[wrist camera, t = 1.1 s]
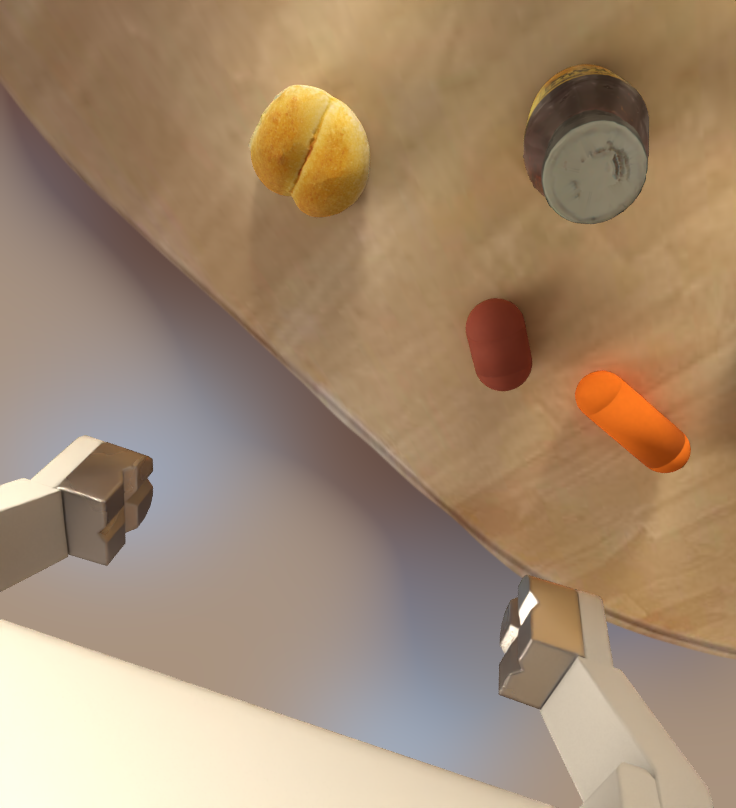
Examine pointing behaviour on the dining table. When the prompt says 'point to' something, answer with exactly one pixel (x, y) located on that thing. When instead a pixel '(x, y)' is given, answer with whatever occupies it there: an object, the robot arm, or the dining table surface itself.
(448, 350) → the dining table surface
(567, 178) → the sauce bottle
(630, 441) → the carrot
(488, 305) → the sausage
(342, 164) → the bread roll
